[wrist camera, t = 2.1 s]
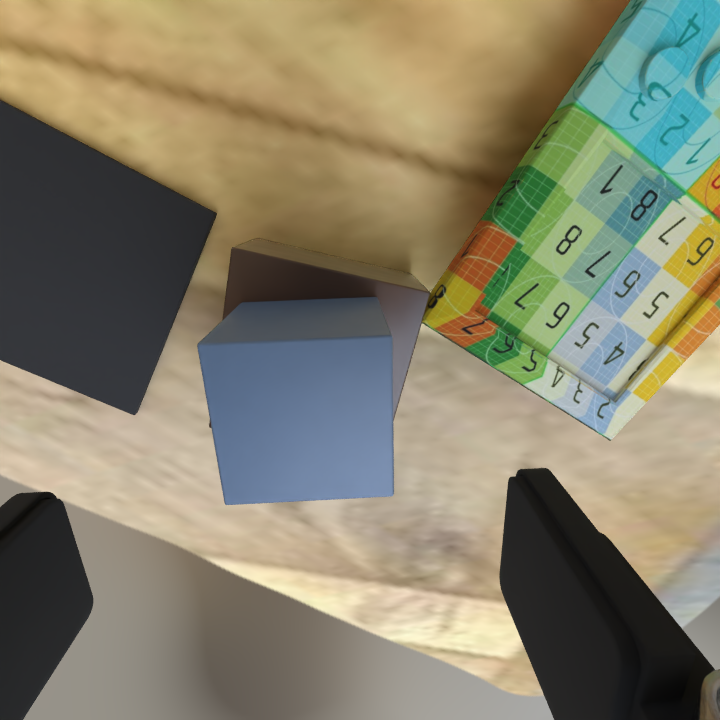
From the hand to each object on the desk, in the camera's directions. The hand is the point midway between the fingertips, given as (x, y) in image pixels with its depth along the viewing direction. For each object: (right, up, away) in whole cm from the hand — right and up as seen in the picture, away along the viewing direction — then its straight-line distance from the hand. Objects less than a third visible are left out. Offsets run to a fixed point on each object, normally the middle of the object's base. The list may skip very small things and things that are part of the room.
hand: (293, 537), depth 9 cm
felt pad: (-14, +9, +12) cm, 21 cm away
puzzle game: (+14, +12, +12) cm, 22 cm away
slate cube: (-1, +4, +9) cm, 10 cm away
